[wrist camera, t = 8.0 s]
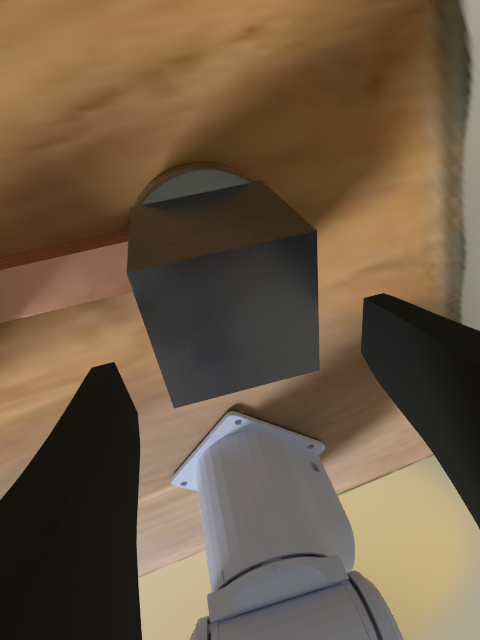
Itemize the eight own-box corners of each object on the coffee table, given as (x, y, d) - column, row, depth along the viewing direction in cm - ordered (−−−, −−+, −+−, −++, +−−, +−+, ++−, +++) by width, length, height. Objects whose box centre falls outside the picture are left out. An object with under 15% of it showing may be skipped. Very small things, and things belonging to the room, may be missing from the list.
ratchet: (263, 147, 17) (303, 171, 13) (277, 282, 21) (311, 333, 17) (-77, 218, 15) (-156, 270, 11) (9, 348, 19) (-26, 422, 15)
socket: (272, 291, 19) (319, 370, 14) (164, 317, 18) (174, 408, 13) (261, 180, 15) (316, 230, 11) (131, 207, 15) (126, 273, 10)
